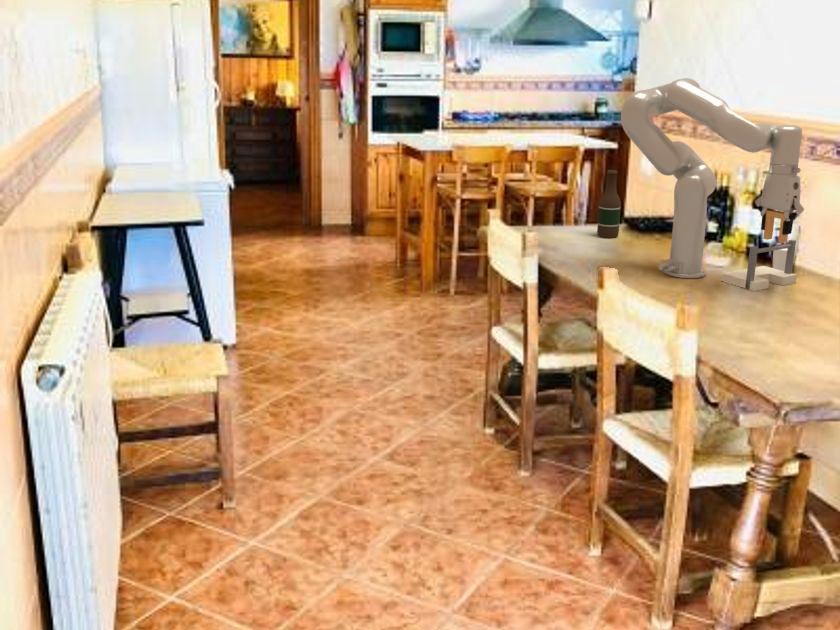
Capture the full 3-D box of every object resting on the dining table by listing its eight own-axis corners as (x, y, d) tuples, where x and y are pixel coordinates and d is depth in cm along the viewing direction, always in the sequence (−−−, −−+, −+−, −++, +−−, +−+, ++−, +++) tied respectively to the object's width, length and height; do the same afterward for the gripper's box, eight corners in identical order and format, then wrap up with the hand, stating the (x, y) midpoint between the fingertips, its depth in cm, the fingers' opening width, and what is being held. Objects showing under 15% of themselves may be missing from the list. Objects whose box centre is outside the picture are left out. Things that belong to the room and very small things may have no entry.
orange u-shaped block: (767, 237, 261) (771, 209, 258) (787, 242, 255) (790, 213, 252) (763, 238, 260) (766, 210, 257) (782, 243, 254) (785, 214, 252)
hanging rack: (754, 291, 255) (759, 248, 251) (721, 281, 265) (726, 240, 261) (795, 282, 264) (801, 241, 260) (762, 273, 274) (767, 233, 270)
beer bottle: (620, 238, 318) (625, 172, 311) (598, 238, 319) (603, 172, 311) (616, 234, 326) (621, 168, 318) (595, 234, 326) (599, 168, 319)
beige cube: (795, 273, 274) (798, 251, 272) (772, 272, 275) (775, 250, 273) (791, 267, 281) (794, 246, 278) (768, 266, 282) (771, 245, 280)
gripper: (818, 172, 246) (810, 235, 251) (767, 165, 260) (760, 225, 265) (800, 175, 242) (792, 239, 248) (749, 167, 256) (742, 227, 262)
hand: (775, 231), depth 256 cm, fingers closed on orange u-shaped block, 6 cm apart
